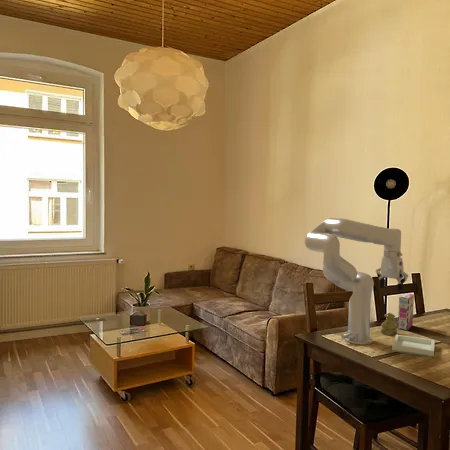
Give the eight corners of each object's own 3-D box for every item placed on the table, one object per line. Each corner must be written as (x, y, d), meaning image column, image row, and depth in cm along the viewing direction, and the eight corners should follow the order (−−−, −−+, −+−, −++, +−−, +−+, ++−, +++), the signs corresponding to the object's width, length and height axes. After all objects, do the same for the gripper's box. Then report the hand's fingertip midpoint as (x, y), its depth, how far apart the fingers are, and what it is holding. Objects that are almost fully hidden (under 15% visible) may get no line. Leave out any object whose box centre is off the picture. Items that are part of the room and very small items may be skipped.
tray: (433, 358, 177) (433, 351, 177) (392, 351, 184) (392, 344, 184) (434, 346, 191) (434, 340, 191) (395, 340, 198) (396, 334, 198)
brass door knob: (389, 336, 204) (389, 316, 203) (377, 332, 210) (378, 312, 210) (400, 334, 207) (401, 314, 206) (389, 330, 213) (389, 310, 213)
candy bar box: (408, 330, 213) (409, 298, 212) (397, 329, 216) (398, 296, 215) (413, 325, 222) (414, 294, 221) (403, 323, 225) (404, 292, 224)
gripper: (413, 256, 201) (411, 292, 202) (381, 251, 215) (380, 285, 216) (403, 257, 197) (402, 294, 198) (371, 252, 211) (371, 287, 212)
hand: (390, 289), depth 207 cm, fingers open, 9 cm apart
